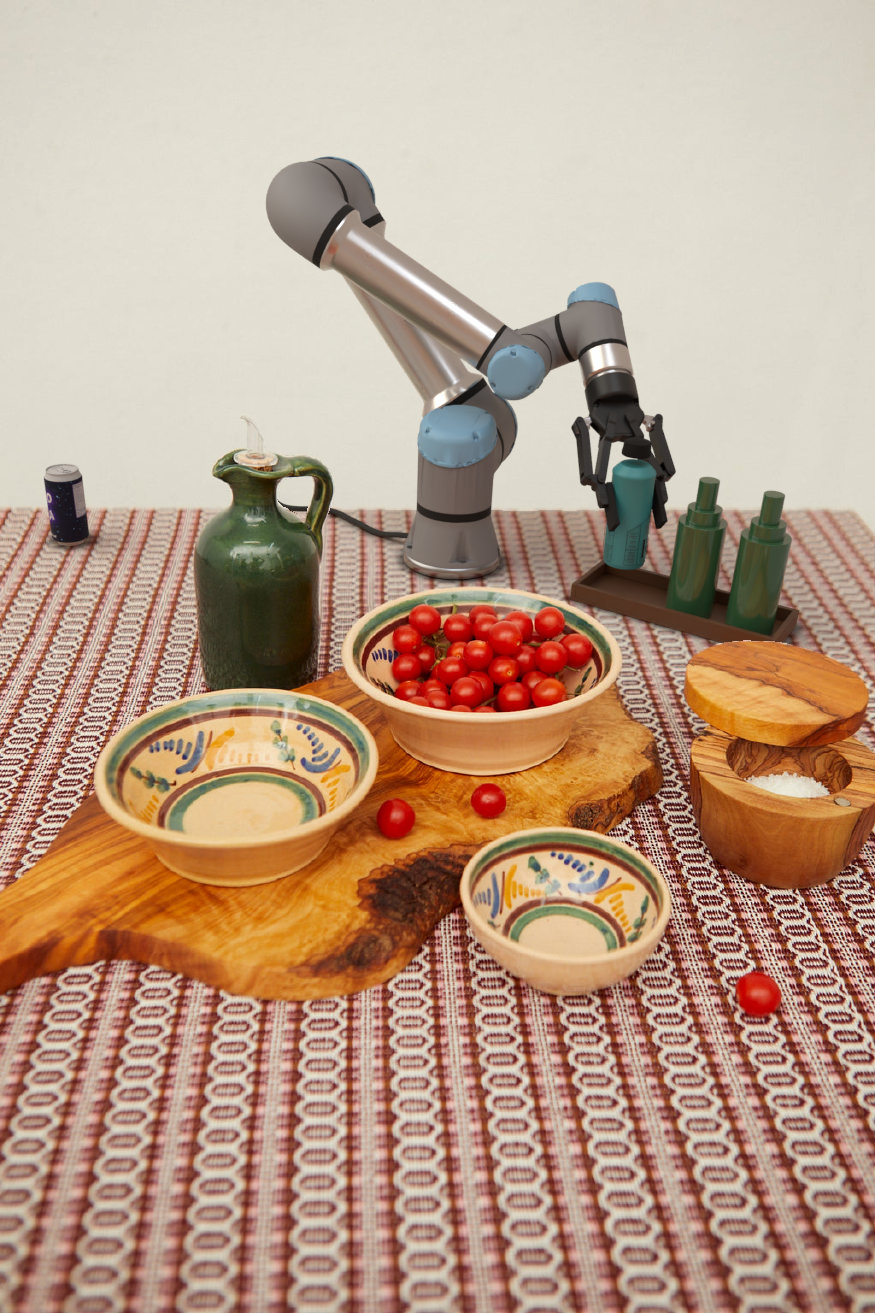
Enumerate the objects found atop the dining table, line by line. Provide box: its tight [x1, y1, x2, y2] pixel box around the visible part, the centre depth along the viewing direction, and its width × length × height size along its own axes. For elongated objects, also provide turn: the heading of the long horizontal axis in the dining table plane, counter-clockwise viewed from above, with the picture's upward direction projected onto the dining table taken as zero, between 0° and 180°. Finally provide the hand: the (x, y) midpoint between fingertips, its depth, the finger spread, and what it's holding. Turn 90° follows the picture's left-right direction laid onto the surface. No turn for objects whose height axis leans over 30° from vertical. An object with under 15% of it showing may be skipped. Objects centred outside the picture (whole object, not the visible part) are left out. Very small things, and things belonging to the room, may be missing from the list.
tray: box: [569, 559, 800, 644], centre depth 160 cm, size 31×12×3 cm, turn 58°
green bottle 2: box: [724, 490, 793, 636], centre depth 151 cm, size 7×7×20 cm
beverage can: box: [43, 463, 90, 547], centre depth 172 cm, size 6×6×12 cm
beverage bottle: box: [602, 437, 656, 570], centre depth 158 cm, size 6×7×20 cm
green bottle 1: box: [665, 476, 729, 619], centre depth 155 cm, size 7×7×20 cm
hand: (638, 526), depth 156 cm, fingers closed on beverage bottle, 6 cm apart
